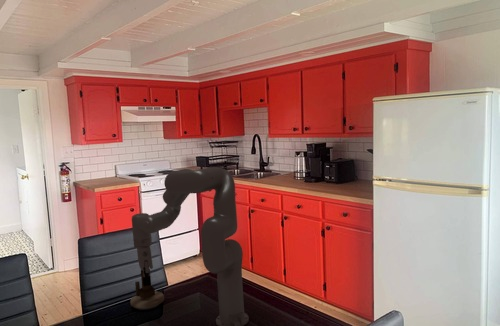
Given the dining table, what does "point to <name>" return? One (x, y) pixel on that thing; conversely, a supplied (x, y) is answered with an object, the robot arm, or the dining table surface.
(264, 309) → the dining table surface
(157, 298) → the disc
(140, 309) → the turntable base
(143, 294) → the wooden pepper mill
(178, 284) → the dining table surface
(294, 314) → the dining table surface
